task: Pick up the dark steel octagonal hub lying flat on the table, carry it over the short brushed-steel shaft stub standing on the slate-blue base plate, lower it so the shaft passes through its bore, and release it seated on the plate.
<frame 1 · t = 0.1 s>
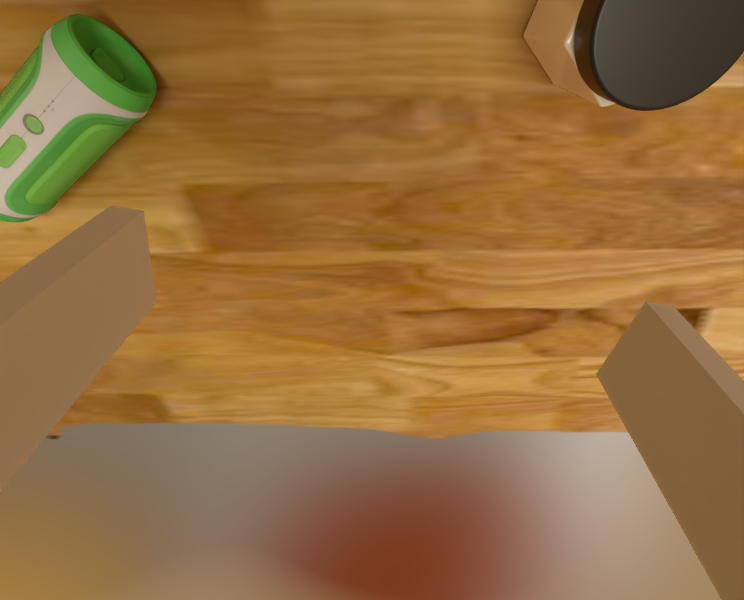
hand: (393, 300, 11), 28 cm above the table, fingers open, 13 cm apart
jar: (584, 18, 31), on the table
speaker: (82, 119, 36), on the table
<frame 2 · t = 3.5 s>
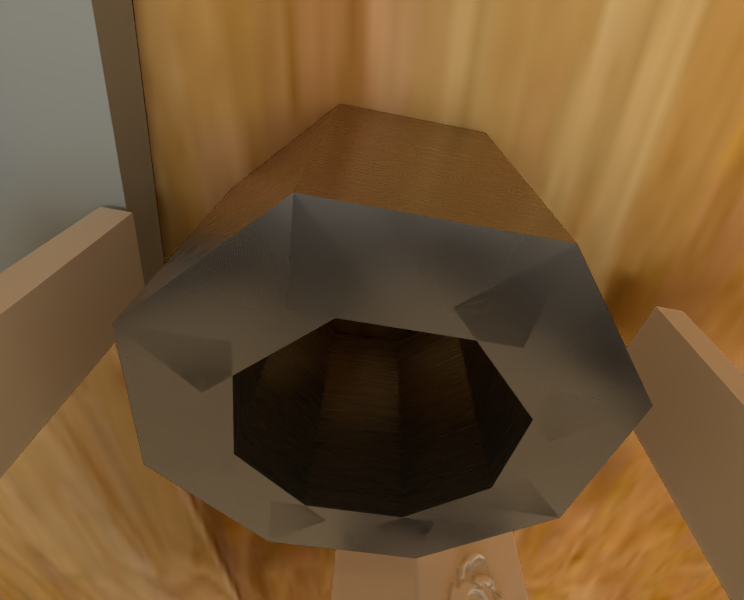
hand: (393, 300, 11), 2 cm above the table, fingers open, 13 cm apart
jar: (425, 520, 21), on the table
hub: (379, 271, 13), on the table
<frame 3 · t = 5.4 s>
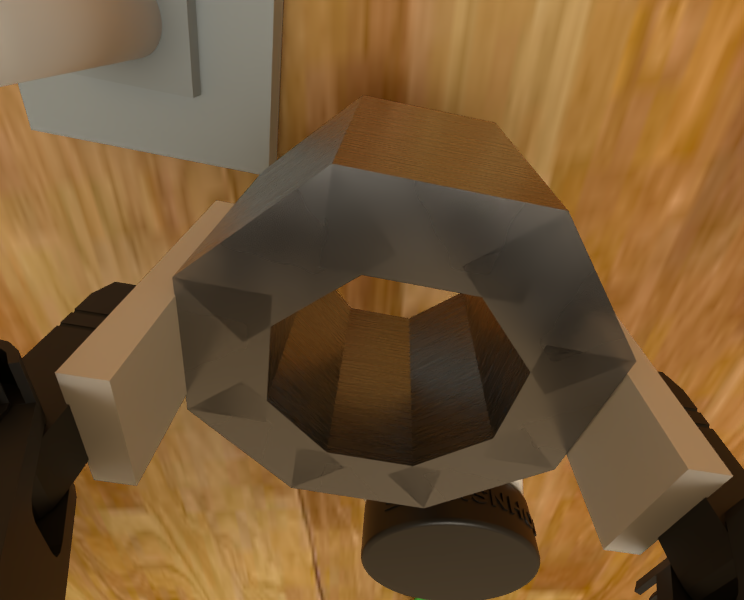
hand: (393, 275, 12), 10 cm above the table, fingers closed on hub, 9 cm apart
jar: (434, 374, 29), on the table
shaft stand: (151, 11, 18), on the table
hub: (395, 251, 14), point 9 cm above the table, touching gripper
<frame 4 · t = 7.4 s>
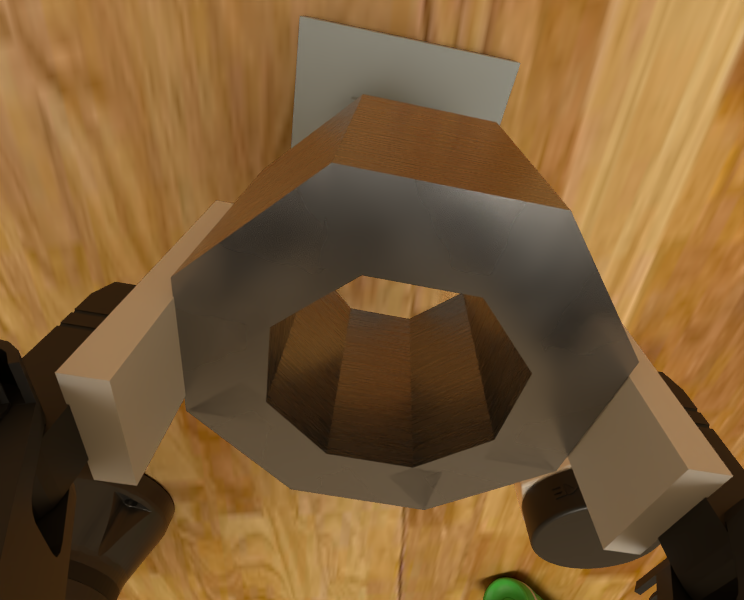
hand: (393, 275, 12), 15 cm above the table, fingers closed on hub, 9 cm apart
jar: (540, 393, 36), on the table
shaft stand: (389, 146, 25), on the table
hub: (395, 251, 14), point 13 cm above the table, touching gripper
speaker: (525, 594, 59), on the table
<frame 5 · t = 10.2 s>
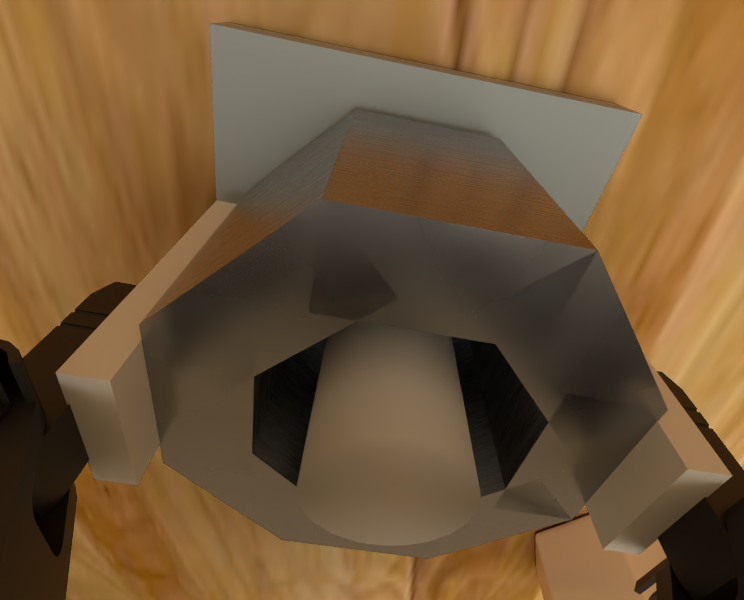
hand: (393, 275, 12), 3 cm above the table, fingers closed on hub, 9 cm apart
jar: (598, 542, 26), on the table
shaft stand: (389, 240, 15), on the table
hub: (392, 274, 13), point 2 cm above the table, touching gripper, shaft stand
when the fingers open (3 cm above the table, at t = 10.8 s): hub stays where it is, resting on shaft stand.
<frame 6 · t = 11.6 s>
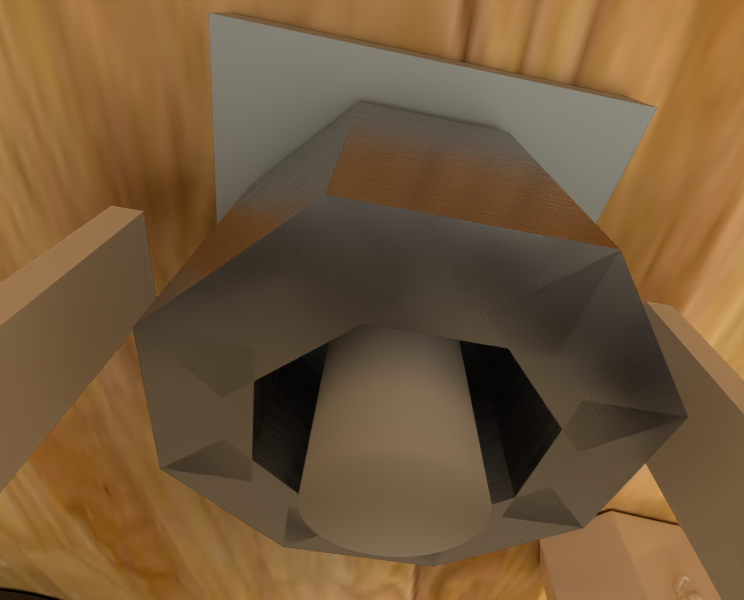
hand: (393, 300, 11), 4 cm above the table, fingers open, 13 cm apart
jar: (603, 543, 26), on the table
shaft stand: (393, 238, 14), on the table
hub: (396, 272, 12), point 2 cm above the table, touching shaft stand
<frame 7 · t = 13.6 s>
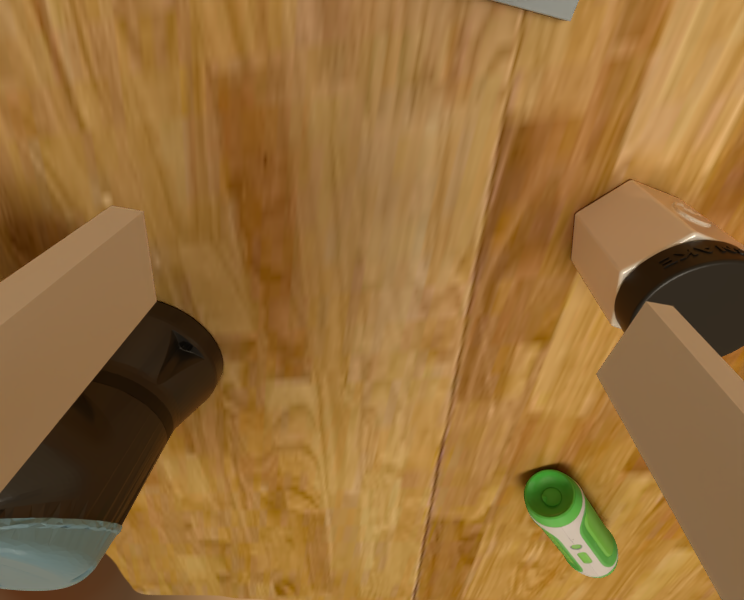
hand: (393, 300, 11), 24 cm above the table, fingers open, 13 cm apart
jar: (620, 229, 35), on the table
speaker: (563, 496, 59), on the table
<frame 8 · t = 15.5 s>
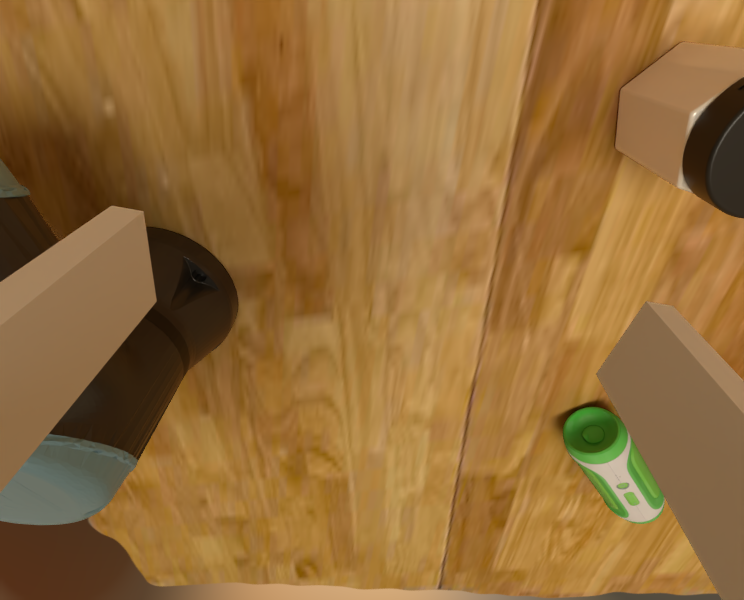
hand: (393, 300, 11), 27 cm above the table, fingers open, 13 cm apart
jar: (668, 107, 32), on the table
speaker: (601, 440, 56), on the table
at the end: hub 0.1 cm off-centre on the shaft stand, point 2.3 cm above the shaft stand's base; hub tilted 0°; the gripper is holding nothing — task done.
